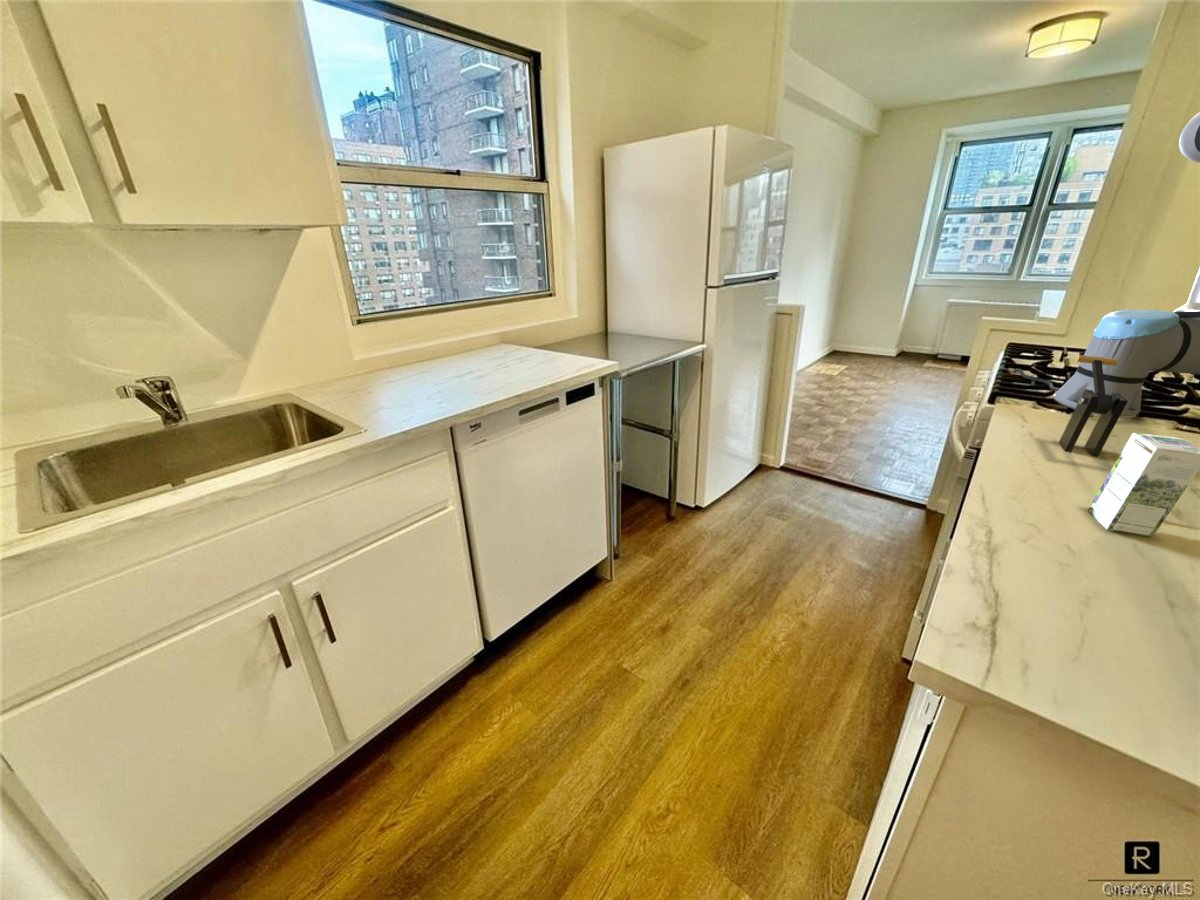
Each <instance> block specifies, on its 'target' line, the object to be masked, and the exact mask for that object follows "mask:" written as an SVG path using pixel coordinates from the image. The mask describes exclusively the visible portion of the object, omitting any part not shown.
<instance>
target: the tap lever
mask: <svg viewBox="0 0 1200 900" xmlns="http://www.w3.org/2000/svg"><path fill="white" fill-rule="evenodd" d="M1118 361H1119V360H1118V359H1114V358H1105V357H1095V356H1086V355H1084V354H1078V355H1076V357H1075V361H1074V362H1075V363H1080V362H1082V363H1091V364H1092V368H1093V378H1094V388H1095V394H1096V395H1097V396H1098V397H1099V399H1098V401H1097V403H1096V404H1095V406H1094V408H1093V410H1092V412H1094V413H1101V414H1106V413H1107V412H1108V411H1109V410H1110V409H1111V408H1112V407H1113V399H1112V395H1106V394H1105V385H1104V377H1103V368H1102V365H1109V366H1116V365H1117V364H1118Z"/></svg>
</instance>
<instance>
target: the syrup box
mask: <svg viewBox="0 0 1200 900" xmlns="http://www.w3.org/2000/svg"><path fill="white" fill-rule="evenodd" d="M1199 470H1200V447H1198V445H1196V444H1194V443H1193V442H1191V441H1189V440H1186V439H1184V438H1182V437H1177V436H1167V435H1157V434H1150V433H1149V434H1148V433H1139V432H1133V433H1131V435H1130V437H1129V439H1128V441H1127V442H1126V443H1125V445H1124V447H1123V449H1122V450H1121V452H1120V454H1119V456H1118V457H1117V460H1116V461H1115V462H1114V464H1113V466H1112V468H1111V469H1110V471H1109V473H1108V474H1107V476H1106V478H1105V480H1104V482H1103V484H1102V485H1101V487H1100V488H1099V490H1098V492H1097V494H1096V495H1095V497H1094V498H1093V500H1092V501H1091V504H1090V507H1088V509H1087V511H1088V513H1089V514H1090V515H1091V516H1092V517H1093V518H1094V519H1095V520H1096V521H1097V522H1098V523H1099V524H1100V525H1101V526H1102V527H1103V528H1104V529H1105V530H1107V531H1111V532H1118V533H1123V534H1130V535H1135V536H1142V537H1147V538H1148V537H1149V538H1153V537H1154V536H1155V535H1156V533H1157V531H1158V530H1159V528H1160V527H1161V526H1162V524H1163V523H1164V521H1165V520H1166V519H1167V517H1168V515H1169V514H1170V513H1171V512H1172V510H1173V509H1174V507H1175V506H1176V504H1177V503H1178V501H1179V500H1180V498H1181V497H1182V495H1183V494H1184V492H1185V491H1186V489H1187V488H1188V487H1189V485H1190V484H1191V482H1192V481H1193V479H1194V478H1195V476H1196V475H1197V473H1198V472H1199Z"/></svg>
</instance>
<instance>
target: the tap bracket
mask: <svg viewBox="0 0 1200 900" xmlns="http://www.w3.org/2000/svg"><path fill="white" fill-rule="evenodd" d="M1098 399H1099V397H1098V396H1097V395H1096V394H1095V393H1094V392H1093V391H1092V390H1088V389H1085V390H1084V392H1083V394H1082V396H1081V398H1080V400H1079V402H1078V404H1077V406H1076V408H1075V409H1073V412H1072V415H1071V417H1070V419H1069V420H1068V423H1067V424H1066V427H1065V429H1064V431H1063V433H1062V435H1061V436H1060V439H1059V441H1058V444H1059V446H1060V447H1061V449H1062V450H1063V451H1064V452H1066V453H1072V451H1073V449H1074V448H1075V445H1076V444H1077V441H1078V439H1079V438H1080V436H1081V434H1082V432H1083V430H1084V428H1085V426H1086V424H1087V422H1088V420H1089V418H1090V416H1091V414H1092V413H1091V412H1092V410H1093V408H1094V406H1095V404H1096V403H1097V401H1098ZM1112 399H1113V407H1112V408H1111V409H1110V410H1109V411H1108V412H1107V413H1106V414H1101V415H1099V418H1098V419H1097V421H1096V423H1095V424H1094V427H1093V429H1092V430H1091V432H1090V435H1089V436H1088V439H1087V441H1086V442H1085V444H1084V446H1083V448H1084V449H1085V450H1086V451H1087V453H1088V454H1089V455H1090V456H1091V457H1095V458H1098V457H1099V456H1100V453H1101V452H1102V451H1103V448H1104V446H1105V445H1106V442H1107V441H1108V439H1109V438H1110V435H1111V434H1112V432H1113V430H1114V428H1115V426H1116V424H1117V423H1118V421H1119V419H1120V418H1121V417H1120V415H1121V413H1122V411H1123V409H1124V408H1125V406H1126V404H1127V402H1128V401H1127V400H1126V399H1125V398H1124V397H1123V396H1121V395H1120V394H1119V393H1112Z"/></svg>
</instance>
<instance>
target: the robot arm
mask: <svg viewBox="0 0 1200 900" xmlns="http://www.w3.org/2000/svg"><path fill="white" fill-rule="evenodd" d="M1178 146H1179V147H1178V148H1179V150H1180V153H1181V154H1182V156H1184V158H1187V159H1188V160H1190V161H1192V162H1195V163H1198V164H1200V111H1199V112H1198V113H1196V114H1195V115H1193V117H1192V118H1191V119H1190V120H1189V121H1188V122H1187V123H1186V124H1185V126H1184V128H1183V129H1182V131H1181V133H1180V136H1179V140H1178ZM1083 355H1086V356H1095V357H1105V358H1114V359H1118V360H1119V361H1118V364H1117V365H1116V366H1109V365H1102V368H1103V377H1104V385H1105V394H1106V395H1112V393H1119V394H1120V395H1121V396H1123V397H1124V398H1125V399H1126V400H1127V401H1128V402H1127V404H1126V406H1125V408H1124V409H1123V411H1122V413H1121V415H1120V417H1119V418H1135V417H1137V416H1138V415H1139V414H1140V412H1141V406H1142V393H1143V392H1142V390H1143V385H1144V383H1145V381H1146V380H1147V377H1148V376H1149V374H1150V372H1161V373H1175V374H1177V373H1178V374H1189V375H1197V376H1198V375H1199V376H1200V268H1198V272H1197V274H1196V277H1195V280H1194V282H1193V285H1192V288H1191V291H1190V294H1189V297H1188V298H1187V301H1186V303H1185V304H1184V305H1181V306H1180V307H1178V308H1176V309H1175V310H1174V311H1169V310H1159V309H1149V310H1148V309H1124V310H1115V311H1112V312H1110V313H1108V314H1106V315H1104V316H1103V317H1102V318H1101V320H1100V321H1099V323H1098V325H1097V326H1096V328H1095V329H1094V330H1093V332H1092V337H1091V339H1090V341H1089V343H1088V345H1087V347H1086V349H1085V352H1084V354H1083ZM1011 372H1012V373H1017V372H1018V373H1019V374H1020V376H1021V377H1022V378H1024V379H1027V380H1030V381H1034V382H1038V383H1043V384H1046V385H1048V387H1049V389H1050V390H1052V391H1056V393H1055V394H1054V395H1053V400H1054V401H1055V402H1057V403H1058V404H1060V405H1062V406H1064V407H1067V408H1070V409H1073V410H1075V408H1076V406H1077V404H1078V402H1079V400H1080V398H1081V396H1082V394H1083V392H1084V390H1085V389H1088V390H1092V391H1093V392H1094V393H1095V388H1094V378H1093V368H1092V364H1091V363H1082V362H1079V365H1078V367H1077V369H1076V371H1075V372H1074V374H1073V375H1072V376H1071V377H1070V378H1069V379H1068V380H1067V381H1066V382H1065V383H1064V384H1063V385H1062V386H1061V387H1055V386H1054V383H1052V382H1051V381H1049V380H1045V379H1042V378H1037V377H1033V376H1030V375H1027V374H1026V373H1025V372H1024V371H1023V370H1022V369H1021V368H1016V369H1013V370H1012V371H1011ZM1138 413H1139V414H1138ZM1091 414H1093V415H1098V416H1101V413H1094V412H1091ZM1137 414H1138V415H1137ZM1136 415H1137V416H1136Z"/></svg>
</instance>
